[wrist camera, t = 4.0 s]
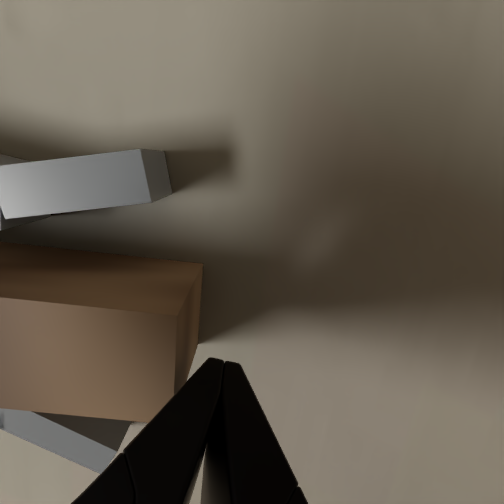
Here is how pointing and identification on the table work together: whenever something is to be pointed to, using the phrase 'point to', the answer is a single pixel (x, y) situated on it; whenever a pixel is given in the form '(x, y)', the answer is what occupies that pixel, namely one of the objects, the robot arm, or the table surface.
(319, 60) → the table surface
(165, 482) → the robot arm
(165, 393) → the batten
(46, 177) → the guide
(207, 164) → the table surface
